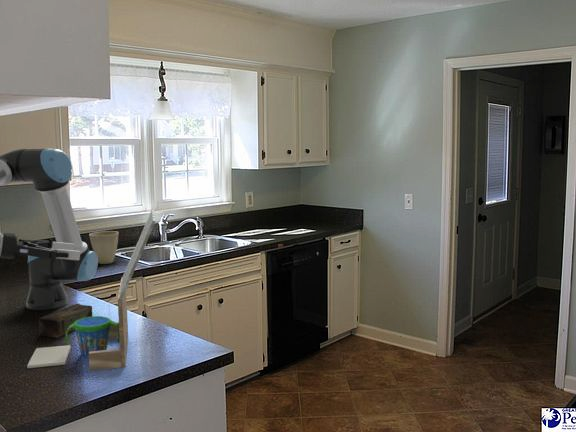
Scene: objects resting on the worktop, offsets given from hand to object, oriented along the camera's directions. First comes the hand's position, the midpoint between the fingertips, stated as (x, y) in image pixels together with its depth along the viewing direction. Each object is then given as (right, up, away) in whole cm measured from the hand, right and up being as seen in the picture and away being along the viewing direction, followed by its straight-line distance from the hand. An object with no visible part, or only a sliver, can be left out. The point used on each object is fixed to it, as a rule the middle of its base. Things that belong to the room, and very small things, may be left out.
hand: (76, 251), depth 175 cm
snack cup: (+7, -31, -4) cm, 32 cm away
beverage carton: (-11, -28, +19) cm, 36 cm away
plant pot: (-32, -14, +125) cm, 130 cm away
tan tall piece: (+16, -30, -2) cm, 35 cm away
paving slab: (-5, -31, -7) cm, 32 cm away
